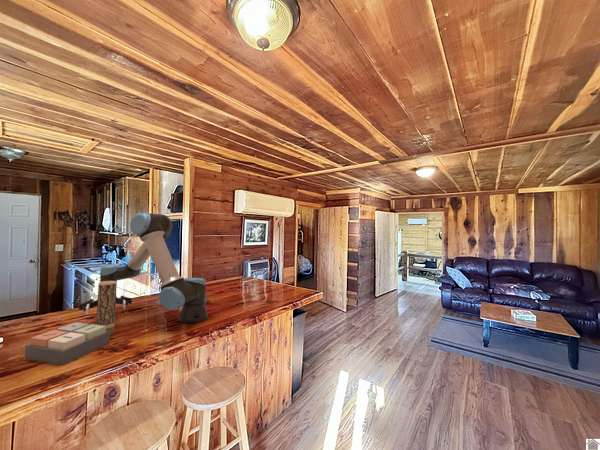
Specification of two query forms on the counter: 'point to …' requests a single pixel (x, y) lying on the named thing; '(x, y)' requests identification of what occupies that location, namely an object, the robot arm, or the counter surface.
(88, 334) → the key sage
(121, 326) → the counter surface
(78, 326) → the key slate
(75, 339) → the key cream
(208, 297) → the cupcake
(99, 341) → the keypad
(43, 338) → the key terracotta
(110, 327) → the brown bark-patterned cylinder
